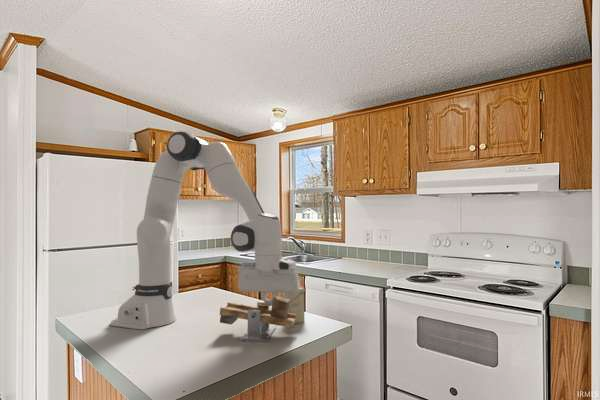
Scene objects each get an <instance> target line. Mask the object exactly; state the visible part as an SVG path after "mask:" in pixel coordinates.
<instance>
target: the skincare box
mask: <svg viewBox="0 0 600 400" xmlns="http://www.w3.org/2000/svg"><path fill="white" fill-rule="evenodd" d="M284 298H288V299H290V305H289V311H288V313H291V314H296V321H295V323H294V324H300V323H304V322H305V288H303V287H301V286H300V288H299V290H298V291H297V292H296V293H289V292H284ZM294 324H293V325H294Z"/></svg>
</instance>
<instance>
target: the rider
mask: <svg viewBox="0 0 600 400" xmlns="http://www.w3.org/2000/svg"><path fill="white" fill-rule="evenodd" d="M289 305H290V299H288V298H285V297H282V296H280V295H279V296H278V295H276V297H275V298H274V299H273V303H272V306H271V309H270V310H271V315H270V316H272V317H278V318H283V319H286V318H287V317H288V311H289Z"/></svg>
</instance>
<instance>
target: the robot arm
mask: <svg viewBox="0 0 600 400" xmlns="http://www.w3.org/2000/svg"><path fill="white" fill-rule="evenodd" d="M189 169H190V170H191V171H197V170H205V172H206V175H207V178H208V180H209V183H210V185H211V187H212V188H213V190H214V191H215V193H217V194H219V195H221V196H222V197H226V198H229V199H231V200H233V201H235V202H236V203H237V204H238V205H240V206H241V207H242V210H243V211H244V212H245V214H246V216H247V218H248V221H246V222H243V223H240V224H237V225H235V226H234V227H233V229H232V231H231V233H230V243H231V245H232V247H233V249H235V250H236V251H237V252H241V253H248V252H254V262H242V263H241V264H239V265H238V267H237V268H238V269H237V271H238V272H237V273H238V276H239V277H238V284H237V285H238V286H237V289H238V290H239V291H240V292H251V293H253V292H254V293H255V292H256V293H260V296H261V298H262V300H263V302H264V306H269V307H272V303H273V299H274V298H275V297H276V296H278V293H285V292H289V293H296V292H297V291H298V290H299V288H300V287H301V285H300V275H299V272H298V270H297V269H296V267H297V266H296V264H297V262H296V261H295V260H292V259H290V258H287V257H284V256H282V249H281V244H282V227H281V226H282V225H281V220H280V219H279V217H278V216H277V215H276V214H272V213H265V211H264V210H263V207H262V206H261V204H260V201H259V200H258V198H257V196H256V194H255V192H254V190H253V189H252V187H251V186H250V185H249V183H247V181H246V180H245V179H244V176H243V175H242V173H241V171H240V169H239V167H238V165H237V161H236V160H235V157H234V156H233V154H232V152H231V150H230V149H229V147H228V146H227V144H225V143H224V142H221V141H213V142H210V143H209V142H207V141H206V140H204V139H203V138H201V137H199V136H196V135H194V134H192V133H190V132H186V131H176V132H174V133H173V134H171V135H170V136H169V137H168V139H167V142H166V151H163V152H161V153H160V154H159V156H158V158H157V160H156V162H155V165H154V167H153V171H152V174H151V178H150V183H149V186H148V191H147V195H146V201H145V202H146V203H145V207H144V208H145V209H144V214H143V219H142V220H140V222H139V224H138V225H137V228H136V244H137V255H138V275H139V276H138V284H137V285H135V286H132V287H131V288H132V290H131V291H134V294H133V295H132V296H131V297H129V298H128V299H127V300H126V301H124V303H122V304H121V305H120V306H119V308H118V312H117V317H115V318H113V320H111V321H110V324H109V325H110V326H112V327H120V328H125V329H126V328H127V329H133V330H142V331H143V330H146V329H150V328H156V327H162V326H166V325H169V324H172V323H174V322H175V321H177V318H176V314H175V311H174V305H173V281H172V259H171V258H172V255H171V235H172V233H173V227H174V224H175V223H174V222H175V216H176V212H177V208H178V203H179V199H180V195H181V190H182V187H183V182H184V176H185V173H186V172H187V171H188V170H189ZM267 293H271V296H272V297H271V298H268V297H267V296H266V295H267Z"/></svg>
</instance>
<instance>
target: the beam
mask: <svg viewBox="0 0 600 400" xmlns="http://www.w3.org/2000/svg"><path fill="white" fill-rule="evenodd" d="M264 307H265V306H264V305H260V304H259V308H257V306H251V305H244V304H239V303H234V302H227V305H226V306H225V307H222V306H221V307H220V309H219V315H220V318H219V323H221V324H226V325H231V326H232V325H233V324H234V323H235V322H236V321H237V320H238V319H241V320H246V321H248V310H261V322H262V323H268V324H270V325H272V326H280V327H285V328H292V327H293V326H294V323H295V321H296V314H291V313H288V317H287V318H286V319H283V318H278V317H272V316H270V315H271V309H269V310H268V309H264ZM295 324H296V323H295Z"/></svg>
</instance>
